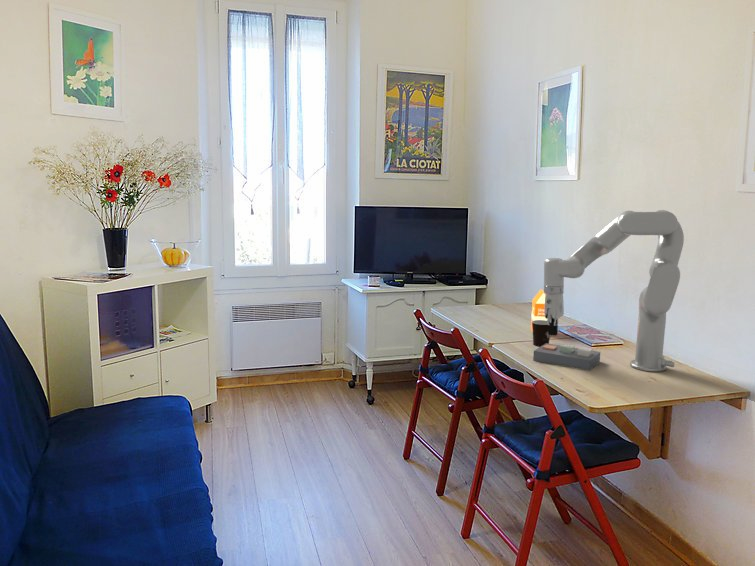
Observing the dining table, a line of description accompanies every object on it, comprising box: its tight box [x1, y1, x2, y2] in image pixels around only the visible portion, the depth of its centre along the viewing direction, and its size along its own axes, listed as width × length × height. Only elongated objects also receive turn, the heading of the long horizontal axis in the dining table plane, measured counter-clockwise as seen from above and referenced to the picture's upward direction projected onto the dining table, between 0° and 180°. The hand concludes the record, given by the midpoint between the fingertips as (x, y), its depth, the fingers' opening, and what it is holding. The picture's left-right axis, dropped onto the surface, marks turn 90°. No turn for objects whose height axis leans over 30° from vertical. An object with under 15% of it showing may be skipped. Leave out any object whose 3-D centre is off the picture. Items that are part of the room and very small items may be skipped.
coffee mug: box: [531, 320, 551, 347], centre depth 266 cm, size 12×9×10 cm
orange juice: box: [530, 288, 547, 333], centre depth 286 cm, size 8×9×20 cm
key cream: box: [578, 346, 594, 357], centre depth 238 cm, size 4×4×3 cm
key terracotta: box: [542, 345, 557, 351], centre depth 246 cm, size 4×4×3 cm
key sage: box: [560, 344, 576, 354], centre depth 241 cm, size 4×4×3 cm
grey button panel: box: [532, 343, 601, 371], centre depth 242 cm, size 22×14×4 cm, turn 55°
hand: (553, 334), depth 244 cm, fingers closed
